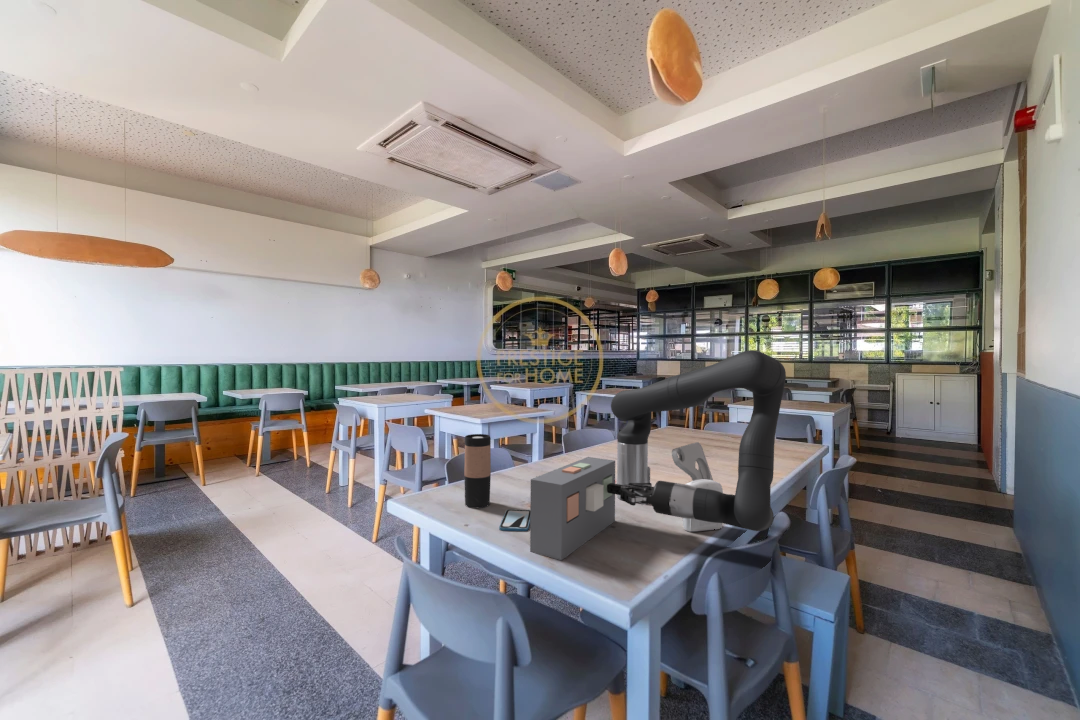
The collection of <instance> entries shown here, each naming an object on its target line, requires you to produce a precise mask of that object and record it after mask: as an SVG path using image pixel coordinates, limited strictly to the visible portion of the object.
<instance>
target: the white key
mask: <svg viewBox="0 0 1080 720" xmlns="http://www.w3.org/2000/svg"><path fill="white" fill-rule="evenodd" d="M603 500H604V485H601V484H595V483H593V484H591V485H589V486H587V487H586V510H589V511H596V510H598V509H599V508H601V507H602V506H603Z"/></svg>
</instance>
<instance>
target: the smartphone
mask: <svg viewBox="0 0 1080 720" xmlns="http://www.w3.org/2000/svg"><path fill="white" fill-rule="evenodd" d="M498 529H499V531H501V532H502V531H503V532H504V531H505V532H507V531H509V532H527V531H529V530H530V509H511V508H509V509H506V510H505V512H504V514H503V517H502V519H501V522H500V524H499V527H498Z"/></svg>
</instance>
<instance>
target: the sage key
mask: <svg viewBox="0 0 1080 720" xmlns="http://www.w3.org/2000/svg"><path fill="white" fill-rule="evenodd" d="M610 483H612V476H607V477H605V478H603V479H602V485H604V500H605V499H607V498H608V497H610V496H612V494H611V493H608V492H607V485H608V484H610Z"/></svg>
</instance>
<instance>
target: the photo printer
mask: <svg viewBox="0 0 1080 720" xmlns="http://www.w3.org/2000/svg"><path fill="white" fill-rule="evenodd" d="M684 484H685V485H690V486H693V487H697V488H704V489H710V490H715V491H719V492H721V493H724V491H723V490H724V489H723V486H722V484H721V483H720V482H718V481H716V480H714V479H713V480H708V479H700V480H695V481H693V480H691V481H690V482H687V483H684ZM682 528H683V529H684V530H685V531H687V532H690V533H691V532H702V531H713V530H714V529H715V530H721V529H723V523H714V522H707V521H702V520H697V519H687V518H682ZM720 528H721V529H720Z"/></svg>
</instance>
